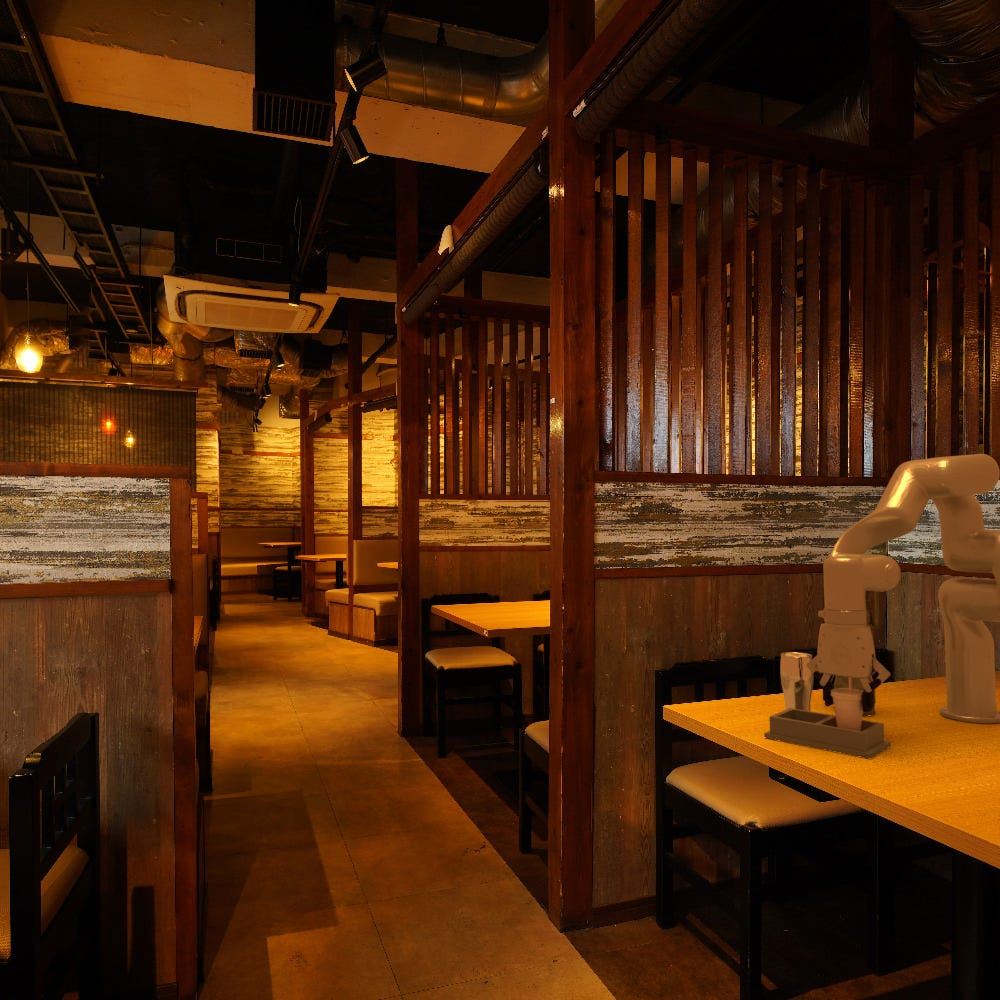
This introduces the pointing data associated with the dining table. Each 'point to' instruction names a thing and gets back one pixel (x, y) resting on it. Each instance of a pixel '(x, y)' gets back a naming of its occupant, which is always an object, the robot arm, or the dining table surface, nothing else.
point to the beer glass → (796, 680)
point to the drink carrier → (827, 733)
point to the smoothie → (848, 707)
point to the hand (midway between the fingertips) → (848, 707)
